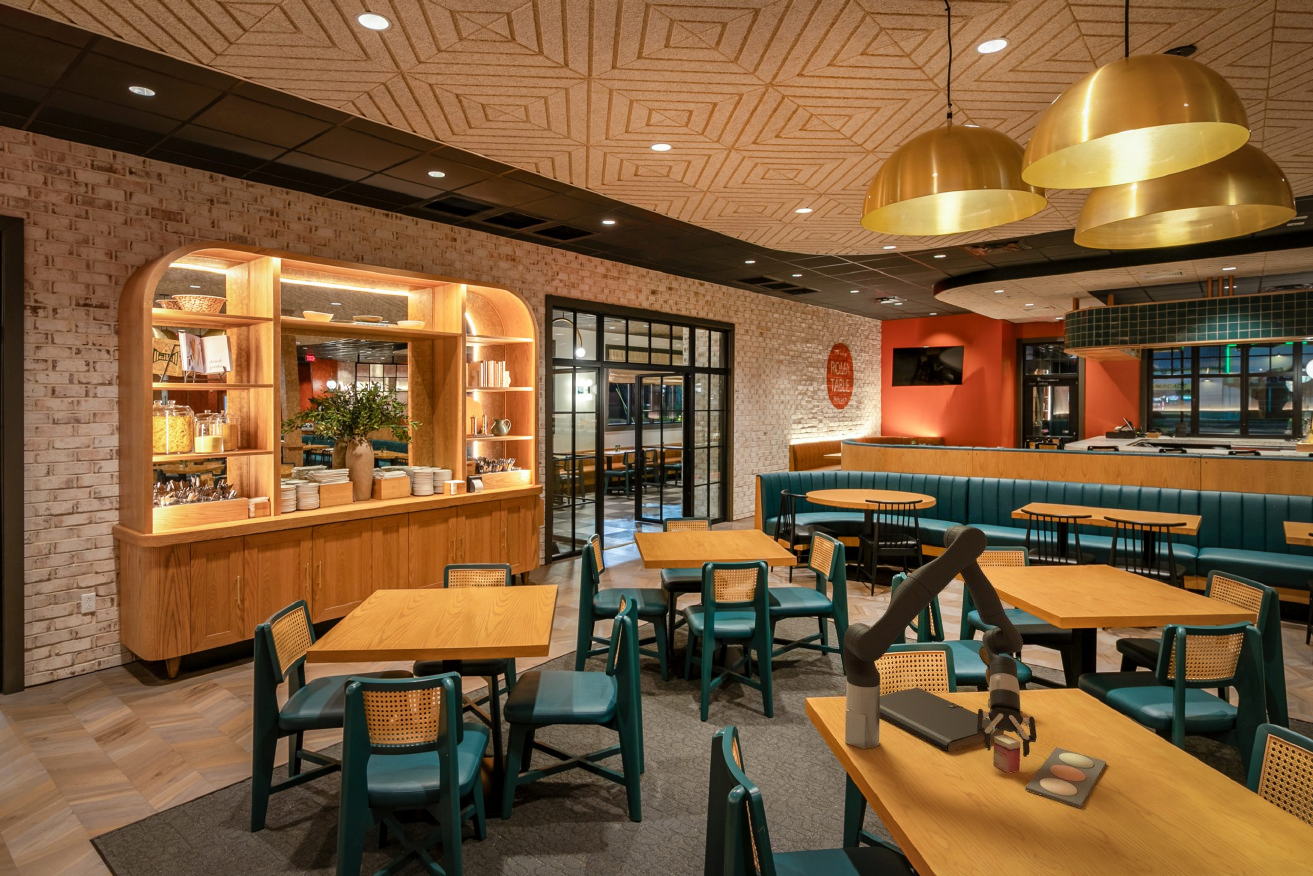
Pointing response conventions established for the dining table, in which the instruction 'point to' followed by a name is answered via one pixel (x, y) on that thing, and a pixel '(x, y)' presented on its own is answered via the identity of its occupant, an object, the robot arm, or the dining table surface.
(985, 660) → the wooden mug
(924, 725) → the file folder
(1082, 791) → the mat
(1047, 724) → the dining table surface
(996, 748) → the small box
